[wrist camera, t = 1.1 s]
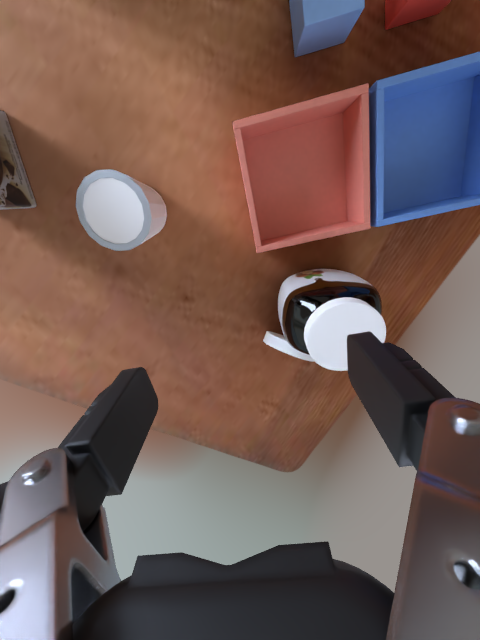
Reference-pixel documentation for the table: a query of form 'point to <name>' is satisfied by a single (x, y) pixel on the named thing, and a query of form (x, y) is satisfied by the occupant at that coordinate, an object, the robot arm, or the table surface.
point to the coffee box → (12, 172)
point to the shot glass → (119, 209)
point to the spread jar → (325, 315)
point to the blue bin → (425, 141)
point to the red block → (411, 11)
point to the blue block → (322, 23)
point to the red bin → (307, 169)
